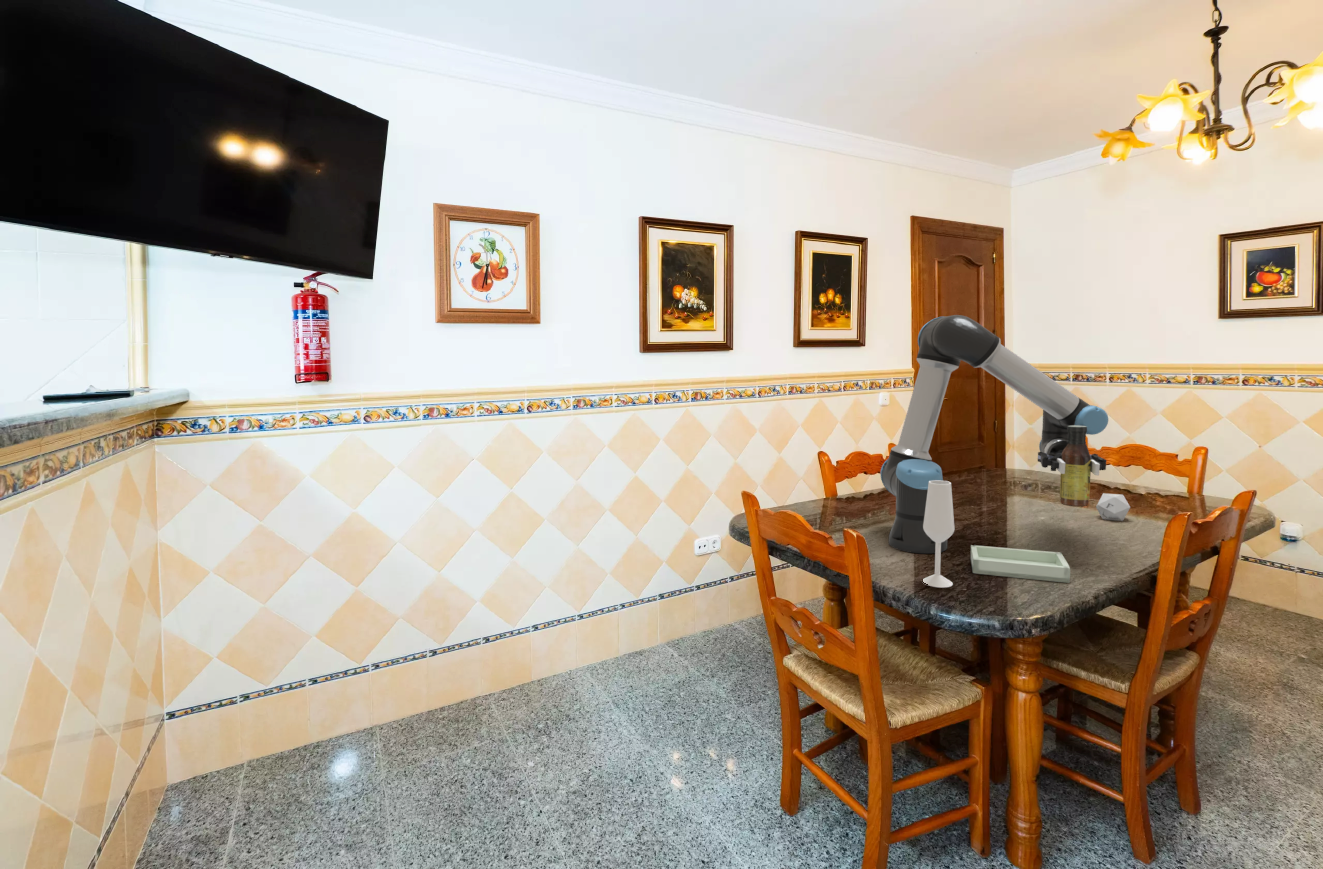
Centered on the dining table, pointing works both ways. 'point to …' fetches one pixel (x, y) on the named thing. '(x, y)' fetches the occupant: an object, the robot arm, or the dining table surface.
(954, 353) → the robot arm
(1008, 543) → the dining table surface
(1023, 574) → the tray
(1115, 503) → the die
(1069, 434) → the sauce bottle
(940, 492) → the champagne flute
